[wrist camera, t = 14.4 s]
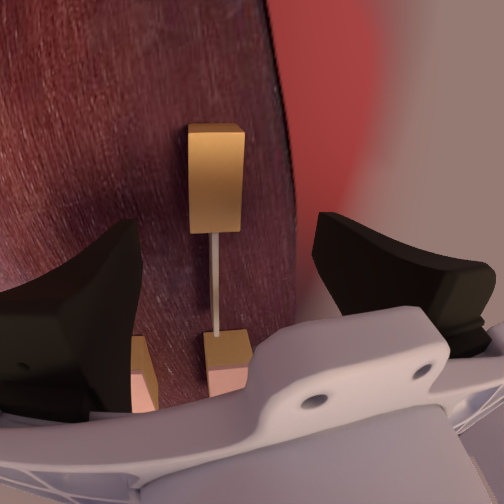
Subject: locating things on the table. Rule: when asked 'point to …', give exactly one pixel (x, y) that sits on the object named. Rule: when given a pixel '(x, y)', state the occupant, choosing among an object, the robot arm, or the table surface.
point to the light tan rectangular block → (227, 360)
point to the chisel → (215, 190)
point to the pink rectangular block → (142, 378)
